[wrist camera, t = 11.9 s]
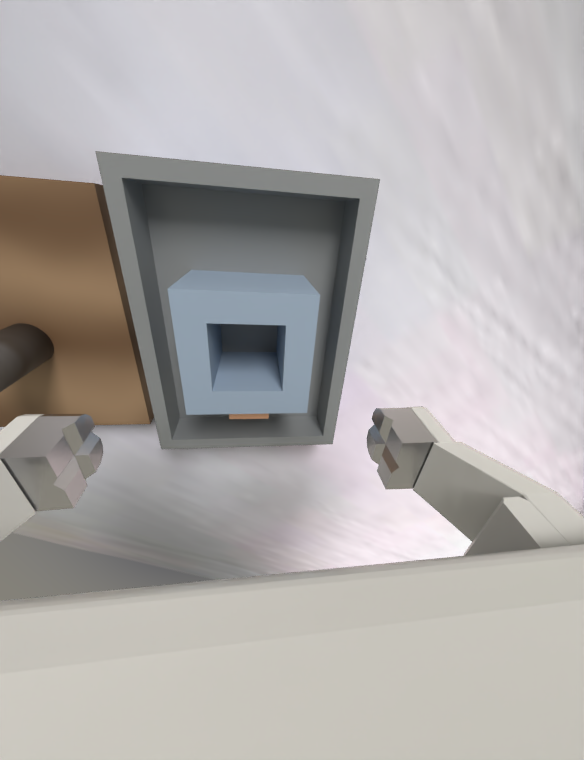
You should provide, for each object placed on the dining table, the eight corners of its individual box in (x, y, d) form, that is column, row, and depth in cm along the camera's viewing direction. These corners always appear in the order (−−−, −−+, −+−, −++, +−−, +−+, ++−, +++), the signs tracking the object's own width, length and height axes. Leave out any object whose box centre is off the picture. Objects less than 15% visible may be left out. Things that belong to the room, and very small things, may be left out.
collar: (191, 269, 16) (167, 288, 12) (303, 275, 17) (320, 294, 12) (203, 389, 20) (189, 436, 16) (294, 389, 21) (304, 433, 16)
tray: (125, 163, 14) (95, 151, 11) (359, 185, 15) (380, 179, 13) (172, 421, 22) (161, 449, 19) (323, 419, 23) (332, 444, 21)
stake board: (-125, 167, 13) (-419, 126, 7) (108, 186, 14) (13, 165, 9) (7, 413, 20) (-91, 490, 14) (156, 411, 21) (120, 481, 15)
